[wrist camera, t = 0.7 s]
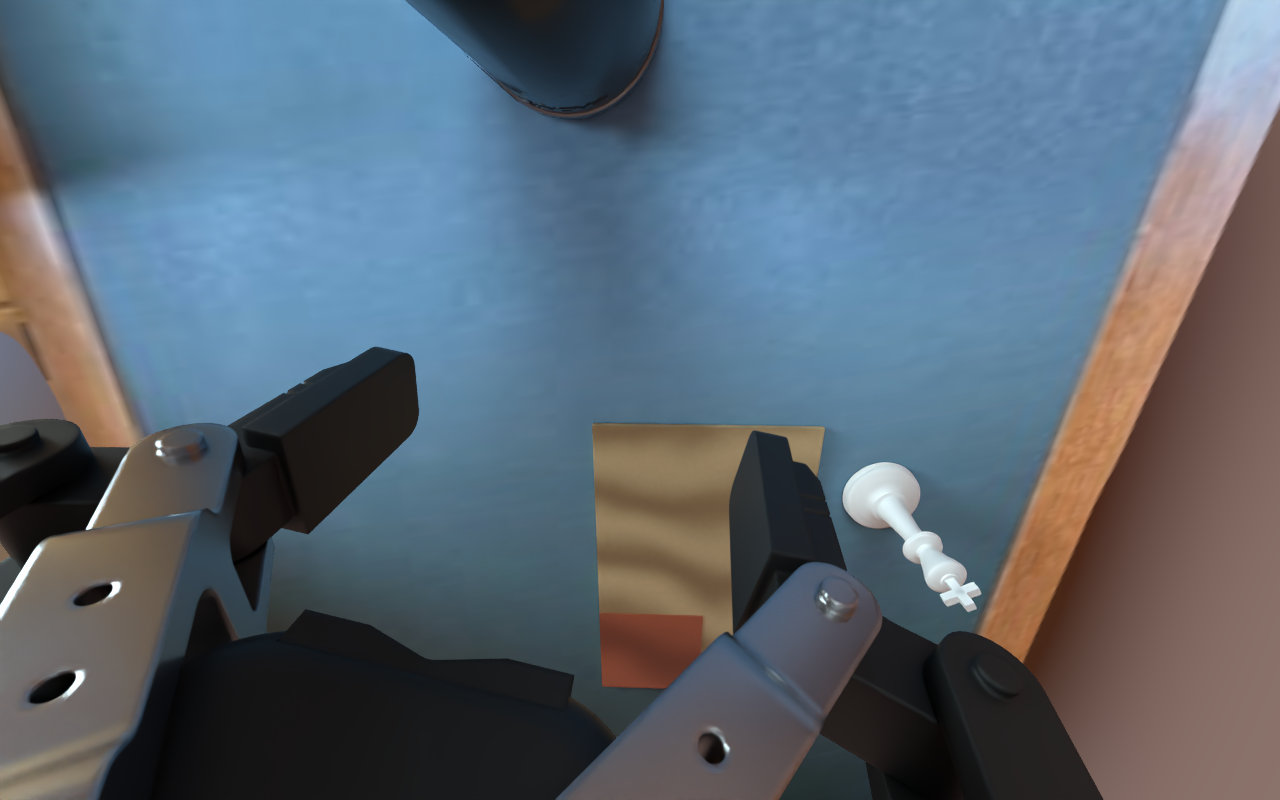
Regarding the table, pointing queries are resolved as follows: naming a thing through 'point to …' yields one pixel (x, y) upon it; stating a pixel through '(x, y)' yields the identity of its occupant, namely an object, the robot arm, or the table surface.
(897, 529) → the chess piece
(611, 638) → the corner board
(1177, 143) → the table surface
